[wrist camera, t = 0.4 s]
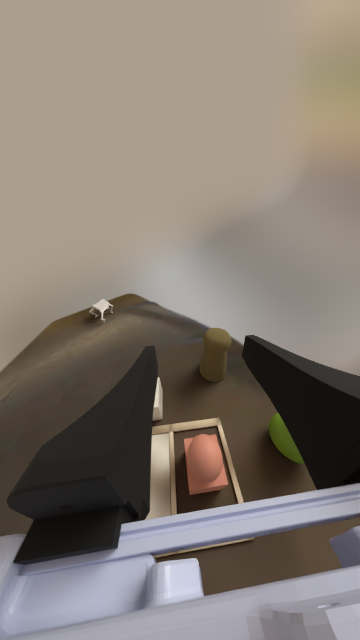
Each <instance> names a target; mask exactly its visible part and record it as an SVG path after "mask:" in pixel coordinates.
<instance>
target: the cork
mask: <svg viewBox="0 0 360 640" xmlns="http://www.w3.org/2000/svg"><path fill="white" fill-rule="evenodd" d="M203 344H204V346H205V348H204V352H203V355H202V359H201V363H200V366H199V371H200V373H201V375H202V376H203V377H204V378H205V379H206V380H208V381H211V382H218V381H221V380H222V379H224V377H225V376H226V356H227V350H228V349H229V348H230V345H231V337H230V335H229V334H228V332H226V331H225V330H223V329H220V328H211V329H209V330H208V331H206V332H205V334H204V336H203Z"/></svg>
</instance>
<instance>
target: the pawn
mask: <svg viewBox="0 0 360 640" xmlns="http://www.w3.org/2000/svg"><path fill="white" fill-rule="evenodd" d="M184 443H185V453H186V464H187V474H188V485H189V494H190V495H193V494H199V493H205V492H211V491H217V490H221V489H223V488H224V487H225V486H227V485H228V481H227V477H226V473H225V469H224V465H223V461H222V454H221V450H220V448H219V445H218V441H217V437H216V435H206V434H200V435H197V436H196V437H194V438H188V439H184Z"/></svg>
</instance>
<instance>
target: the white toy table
mask: <svg viewBox="0 0 360 640" xmlns="http://www.w3.org/2000/svg"><path fill="white" fill-rule="evenodd" d="M109 305H111V304H109V302H107V301H105V300H104V299H102V300H101V301H99V302H98V303H97V304H95V305H93V306H92V309H91V310H90V311H89V312H90V313H92V312H93V310H94V309H97V310H99V311H101V313H102V315H101V320H104V322H105V321H106V320H105V319H103V312H104V311H105V310H106V308H107V309H108V307H109ZM111 306H112V307H111V311H112V308H113V305H111ZM112 313H113V312H112ZM92 314H95V313H92ZM95 315H97V314H95ZM98 316H99V315H97V316H95V318H96V317H98ZM104 322H103V323H104Z"/></svg>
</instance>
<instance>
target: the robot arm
mask: <svg viewBox="0 0 360 640" xmlns="http://www.w3.org/2000/svg"><path fill="white" fill-rule="evenodd" d="M242 357H243V359H244V361H245V363H246V365H247V366H248V368H249V370H250V371H251V372H252V374H253V375H254V377H255V378H256V380H257V381H258V382H259V384H260V385H261V387H262V388H263V389H264V391H265V392H266V394H267V395H268V397H269V398H270V400H271V401H272V403H273V405H274V406H275V408H276V410H277V411H278V413H279V415H280V417H281V418H282V420H283V422H284V424H285V426H286V428H287V429H288V431H289V433H290V435H291V437H292V439H293V441H294V443H295V445H296V447H297V449H298V451H299V453H300V455H301V457H302V459H303V461H304V463H305V465H306V467H307V469H308V472H309V474H310V476H311V478H312V480H313V482H314V485H315V487H316V488H317V490H316V491H310V492H305V493H299V494H293V495H287V496H281V497H276V498H270V499H264V500H258V501H252V502H247V503H241V504H235V505H229V506H223V507H218V508H212V509H206V510H200V511H195V512H189V513H183V514H177V515H171V516H166V517H160V518H154V519H148V520H145V519H146V517H147V516H148V514H149V512H150V478H151V445H152V422H153V409H154V402H155V394H156V387H157V379H158V363H157V358H156V353H155V347H154V346H146V347H145V349H144V350H143V352H142V353H141V355H140V356H139V357H138V359H137V360H136V362H135V363H134V364H133V366H132V367H131V368H130V369H129V371H128V372H127V373H126V374H125V376H124V377H123V378H122V379H121V380H120V381H119V382H118V384H117V385H116V386H115V387H114V388H113V389H112V390H111V391H110V392H109V393H108V394H107V395H106V396H104V397H103V398H102V399H101V400H100V401H99V402H98V403H97V404H96V405H95V406H93V407H92V408H91V409H90V410H89V411H88V412H86V413H85V414H84V415H83V416H81V417H80V418H79V419H78V420H76V421H75V422H74V423H73V424H71V425H70V426H69V427H67V428H66V429H65V430H63V431H62V432H61V433H59V434H58V435H56V436H55V437H54V438H52V439H51V440H50V441H48V442H47V443H45V444H44V445H43V446H41V448H40V449H39V451H38V452H37V454H36V455H35V457H34V458H33V460H32V461H31V463H30V464H29V466H28V467H27V469H26V470H25V472H24V473H23V475H22V476H21V478H20V480H19V481H18V483H17V484H16V486H15V487H14V489H13V490H12V492H11V493H10V495H9V497H8V499H7V504H8V506H9V508H11V509H13V510H14V511H16V512H18V513H21V514H23V515H25V516H27V517H29V518H31V519H34V521H33V523H32V525H31V527H30V529H29V531H28V533H27V534H14V535H8V536H2V537H0V640H360V526H357V527H353V528H352V529H350V530H349V531H347V532H345V533H343V534H341V535H338V536H335V537H332V538H330V539H329V543H330V545H331V547H332V548H333V550H334V552H335V554H336V555H337V557H338V559H339V561H340V563H341V568H339V569H335V570H330V571H325V572H320V573H315V574H310V575H305V576H300V577H296V578H291V579H286V580H281V581H276V582H271V583H266V584H262V585H257V586H252V587H247V588H242V589H237V590H232V591H228V592H223V593H218V594H213V595H208V596H204V593H203V588H202V578H201V569H200V566H199V562H198V560H197V559H196V558H192V559H182V560H172V561H164V562H159V563H157V561H156V559H155V558H154V557H153V556H156V555H161V554H167V553H172V552H177V551H183V550H188V549H193V548H199V547H204V546H209V545H215V544H220V543H225V542H231V541H236V540H241V539H247V538H252V537H257V536H263V535H268V534H274V533H279V532H284V531H290V530H295V529H300V528H306V527H311V526H316V525H322V524H327V523H332V522H338V521H343V520H348V519H354V518H359V517H360V376H357V375H353V374H350V373H346V372H343V371H340V370H337V369H334V368H331V367H327V366H325V365H322V364H319V363H316V362H314V361H311V360H308V359H306V358H303V357H301V356H298V355H296V354H294V353H291V352H289V351H287V350H285V349H283V348H280V347H278V346H276V345H274V344H272V343H270V342H268V341H266V340H264V339H261V338H259V337H257V336H254V335H248V336H246V337H245V342H244V348H243V353H242Z"/></svg>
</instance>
